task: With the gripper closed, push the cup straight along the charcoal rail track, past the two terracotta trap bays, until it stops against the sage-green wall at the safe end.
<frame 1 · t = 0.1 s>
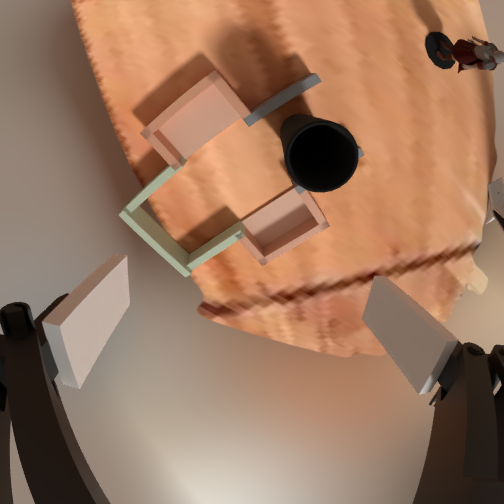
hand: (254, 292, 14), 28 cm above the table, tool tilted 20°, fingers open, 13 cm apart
cup: (300, 132, 35), on the table
figurine: (441, 51, 25), on the table
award: (493, 199, 41), on the table
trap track: (241, 171, 38), on the table
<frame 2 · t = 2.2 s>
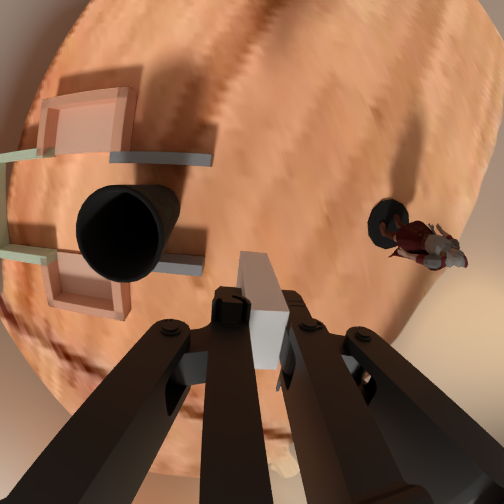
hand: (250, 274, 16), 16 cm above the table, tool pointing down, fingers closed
cup: (157, 208, 30), on the table
figurine: (388, 225, 33), on the table
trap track: (83, 205, 29), on the table
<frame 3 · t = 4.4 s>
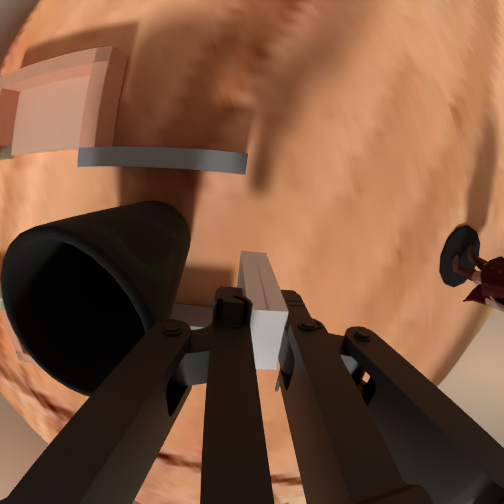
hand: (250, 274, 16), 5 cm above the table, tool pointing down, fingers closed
cup: (154, 237, 20), on the table, touching gripper, hand
figurine: (459, 258, 22), on the table
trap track: (49, 228, 18), on the table
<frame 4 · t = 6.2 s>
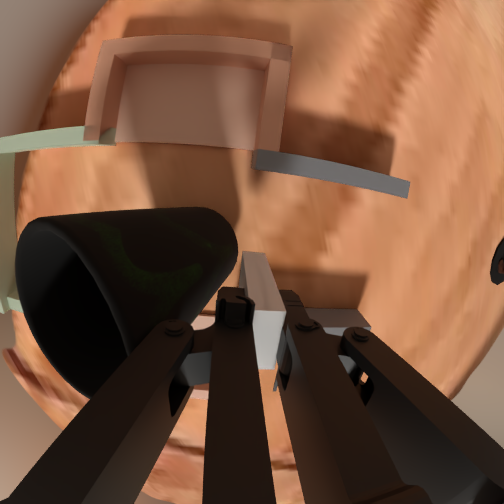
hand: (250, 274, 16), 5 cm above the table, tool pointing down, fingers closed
cup: (201, 246, 19), point 1 cm above the table, touching gripper, hand
figurine: (502, 262, 24), on the table
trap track: (173, 233, 19), on the table
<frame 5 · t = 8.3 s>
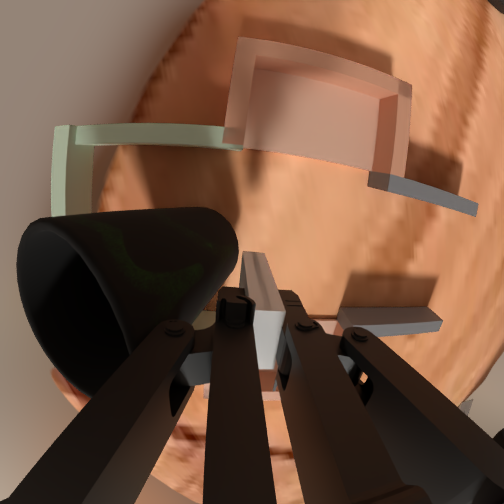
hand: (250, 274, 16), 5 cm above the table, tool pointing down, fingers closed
cup: (202, 246, 19), point 1 cm above the table, touching gripper, hand
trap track: (296, 244, 21), on the table
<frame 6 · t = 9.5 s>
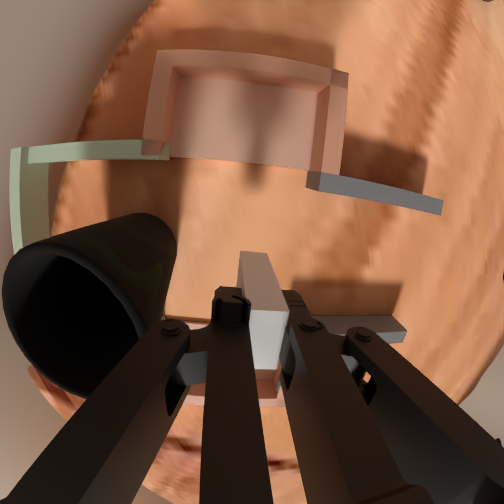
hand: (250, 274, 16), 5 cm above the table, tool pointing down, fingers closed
cup: (143, 247, 20), on the table
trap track: (230, 250, 21), on the table
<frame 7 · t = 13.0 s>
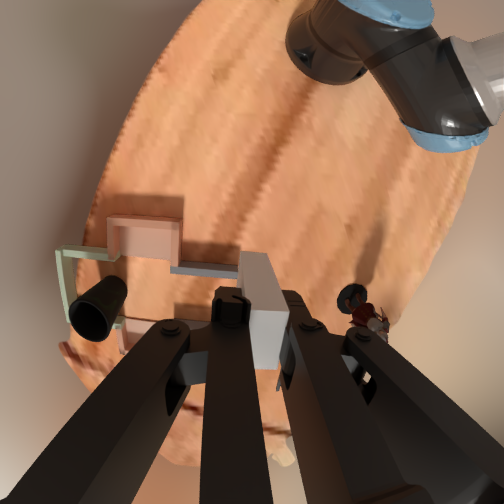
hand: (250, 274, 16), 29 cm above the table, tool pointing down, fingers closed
cup: (114, 288, 47), on the table
figurine: (352, 299, 51), on the table
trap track: (147, 291, 47), on the table
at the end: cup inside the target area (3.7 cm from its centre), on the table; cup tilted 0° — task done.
